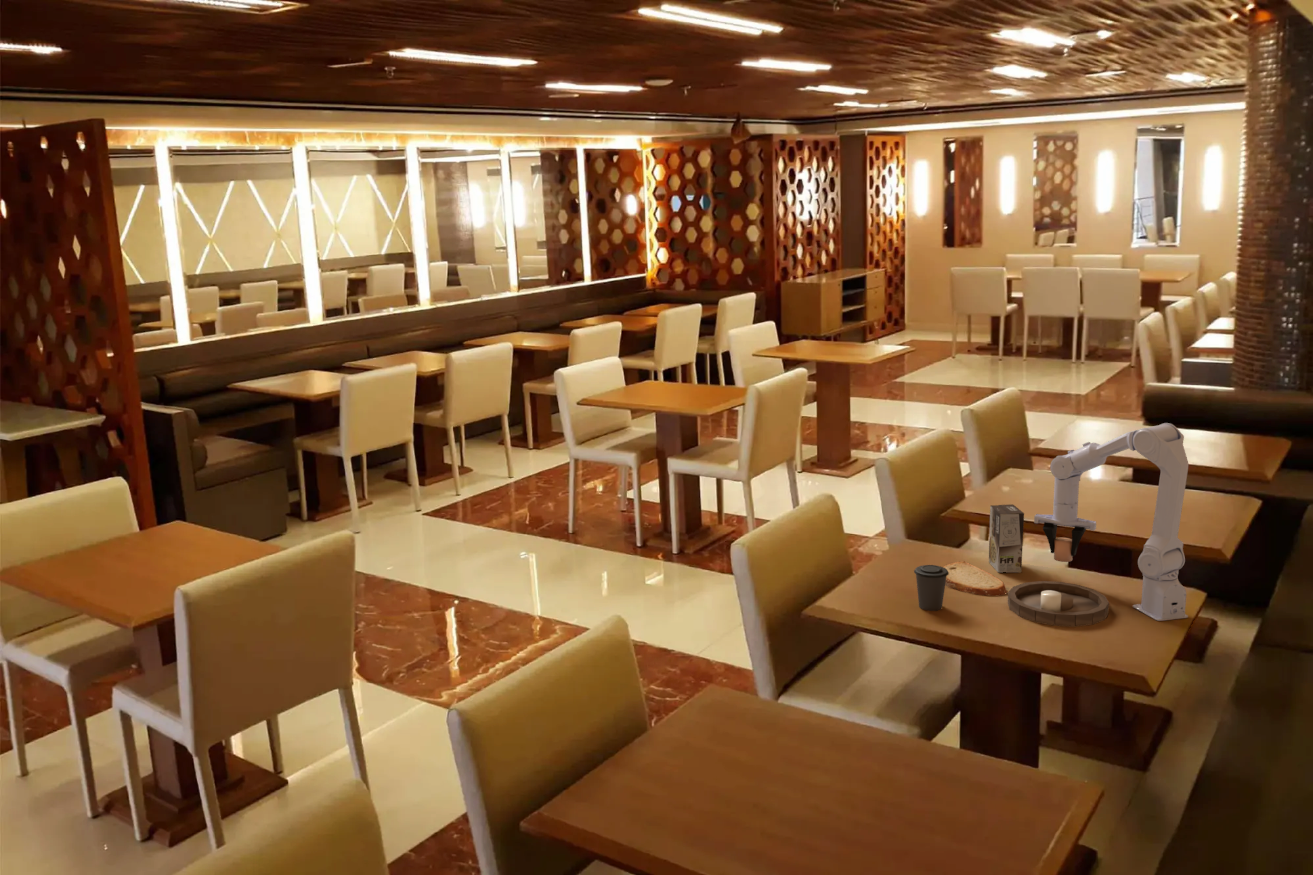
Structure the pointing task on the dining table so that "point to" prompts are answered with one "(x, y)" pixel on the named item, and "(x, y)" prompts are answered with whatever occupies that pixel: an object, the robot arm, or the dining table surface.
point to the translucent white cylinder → (1050, 600)
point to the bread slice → (973, 580)
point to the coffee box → (1006, 538)
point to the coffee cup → (931, 586)
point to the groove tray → (1075, 604)
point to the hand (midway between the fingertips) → (1063, 553)
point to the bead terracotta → (1063, 549)
